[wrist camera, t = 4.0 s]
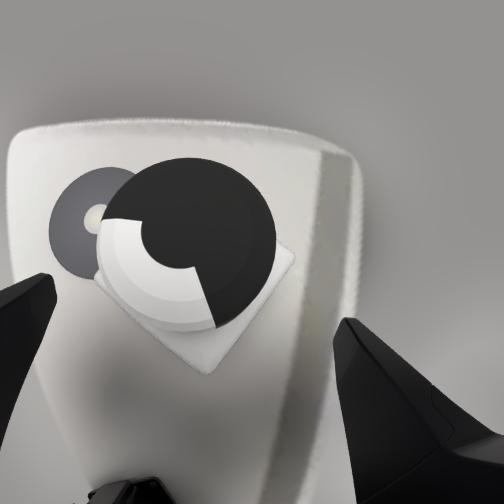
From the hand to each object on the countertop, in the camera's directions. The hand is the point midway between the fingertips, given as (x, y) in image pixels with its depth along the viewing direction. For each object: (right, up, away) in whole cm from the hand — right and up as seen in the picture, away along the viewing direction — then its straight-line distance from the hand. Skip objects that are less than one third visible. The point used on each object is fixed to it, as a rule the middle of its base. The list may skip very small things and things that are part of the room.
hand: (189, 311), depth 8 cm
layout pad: (-10, +4, +12) cm, 16 cm away
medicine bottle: (-2, -1, +12) cm, 12 cm away
